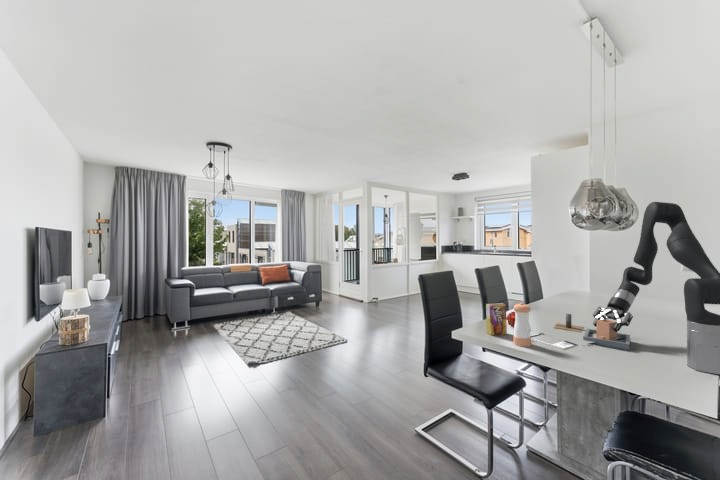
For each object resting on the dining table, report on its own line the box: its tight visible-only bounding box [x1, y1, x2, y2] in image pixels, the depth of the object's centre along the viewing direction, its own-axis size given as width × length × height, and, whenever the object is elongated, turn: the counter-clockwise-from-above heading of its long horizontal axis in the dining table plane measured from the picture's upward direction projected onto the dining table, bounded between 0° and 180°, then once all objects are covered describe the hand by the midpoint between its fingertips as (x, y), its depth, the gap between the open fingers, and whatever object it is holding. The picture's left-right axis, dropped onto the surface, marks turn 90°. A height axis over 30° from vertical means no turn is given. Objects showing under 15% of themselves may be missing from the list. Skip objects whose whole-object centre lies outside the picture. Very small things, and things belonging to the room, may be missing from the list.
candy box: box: [485, 302, 508, 336], centre depth 156 cm, size 9×4×15 cm, turn 96°
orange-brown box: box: [596, 319, 618, 341], centre depth 141 cm, size 5×7×9 cm
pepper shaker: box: [512, 302, 532, 348], centre depth 140 cm, size 7×7×19 cm
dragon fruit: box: [506, 311, 515, 327], centre depth 168 cm, size 8×8×12 cm
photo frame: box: [530, 332, 579, 350], centre depth 144 cm, size 15×1×18 cm
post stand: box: [553, 313, 585, 334], centre depth 159 cm, size 12×12×8 cm
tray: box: [582, 328, 631, 352], centre depth 141 cm, size 16×16×3 cm
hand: (604, 328), depth 141 cm, fingers open, 8 cm apart
